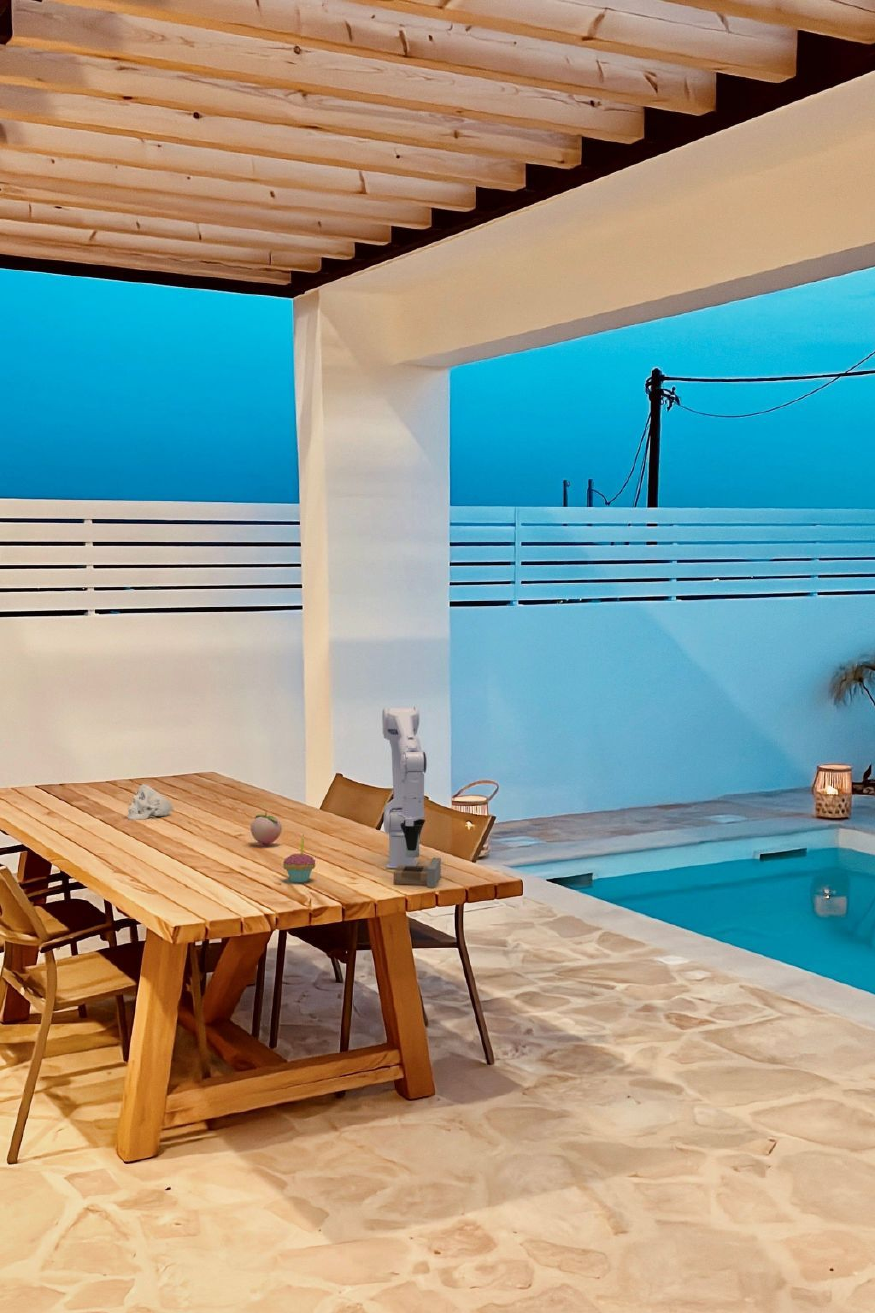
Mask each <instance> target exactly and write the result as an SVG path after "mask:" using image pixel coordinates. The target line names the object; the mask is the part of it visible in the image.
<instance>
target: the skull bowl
mask: <svg viewBox="0 0 875 1313" xmlns="http://www.w3.org/2000/svg"><path fill="white" fill-rule="evenodd" d="M173 809H174V806H173V804H171V802H170V801H169V800H168V799H167V798H165V797H164V796H163V795H162V794H161V793H159V792H158V791H157V790H155V788H152V787H151V786H149V785H147V784H145V783H142V784H141V785H140V786H139V788H138V790H137V791H136V795H133V797H132V803H131V805H129V806H128V807H127V810H128V812H127V813H128V815H127V820H132V821H140V820H146V819H148V818H149V817H150V815H152V816H155V817H165V816H168V815H169V814H170V812H171V811H172V810H173Z"/></svg>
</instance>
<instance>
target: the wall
mask: <svg viewBox="0 0 875 1313" xmlns="http://www.w3.org/2000/svg"><path fill="white" fill-rule="evenodd" d="M441 860H442V858H441V857H433V858H431V861H430V863H429V865H427V866H428V868H427V885H426V888H427V889H435V888H436V886H437V885H436V884H438V882H439V881H440V878H441V876H442V875H441V873H442V872H441V871H442V869H441V868H442V863H441V862H442V861H441Z"/></svg>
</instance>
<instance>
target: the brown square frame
mask: <svg viewBox="0 0 875 1313" xmlns="http://www.w3.org/2000/svg"><path fill="white" fill-rule="evenodd" d="M428 866H429V865H416V866H405V865H399V866H398V867H397V868H395V869H394V872H393V885H416V886H419V885H420V886H427V868H428Z"/></svg>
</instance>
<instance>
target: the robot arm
mask: <svg viewBox="0 0 875 1313" xmlns="http://www.w3.org/2000/svg"><path fill="white" fill-rule="evenodd" d="M419 711H420V710H419V708H418V707H417V706H414V707H388V706H385V707H384V708H383V709H382V713H381V715H382V716H381V718H382V719H381V720H382V735H383V738H384V739H385V740H388V741H389V744H390V748H391V765H392V767H391V768H392V772H391V773H392V792H393V799H391V800H390V801H389V802H388V803H387V804H385V806H384V807H383V828H384V829H383V830H384V831H385V834H388V862H387V864H386V865H385V869H396V868H397V867H398V866H399V865H405V866H418V864H419V860H416V857H415V858H410V857H406V846H407V850H409V851H415V850H416V847H417V841H418V835H419V840H420V837H421V832H422V829H423V827H424V824H425V823H426V819H425V774H426V773H427V768H428V760H427V754H426V751H425V750H424V749H422V747H421V743H420V739H419V738H418V736H417V733H418V729H419V726H420V712H419Z"/></svg>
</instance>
